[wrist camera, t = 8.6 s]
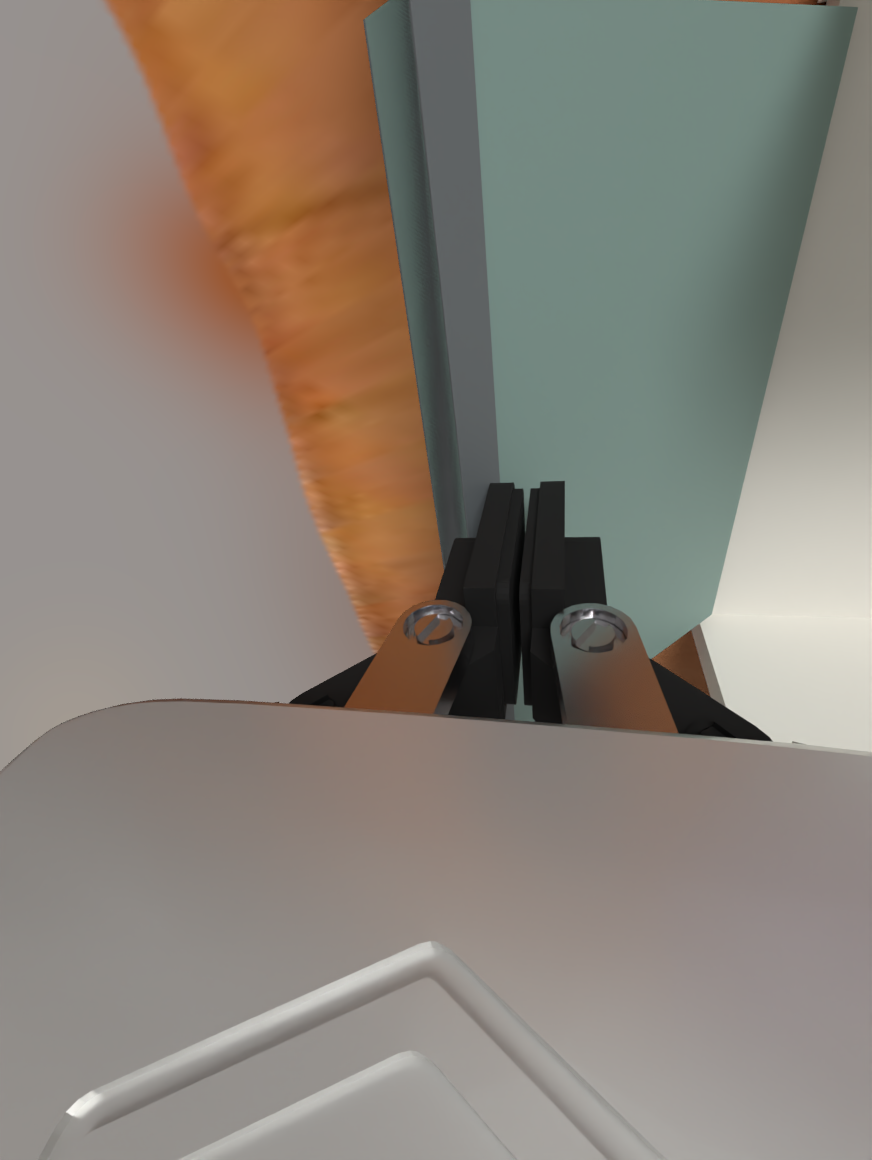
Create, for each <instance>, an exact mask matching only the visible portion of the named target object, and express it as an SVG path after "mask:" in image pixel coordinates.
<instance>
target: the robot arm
mask: <svg viewBox="0 0 872 1160" xmlns="http://www.w3.org/2000/svg"><path fill="white" fill-rule="evenodd" d="M521 652H522V669H523V691H524V705H528V706H532V716H533V719H534V720H535V722H531V721H518V720H505V717H506V709H507V704H513V705H516V703H517V694H518V684H519V673H520V663H521ZM0 1160H872V752H867V751H858V750H849V749H841V748H832V747H823V746H814V745H806V744H802V743H798V742H794V741H792V743H784V742H773V741H772V740H771V738H770V737H769V736H768V735H766V734H765V733H764V732H763V731H761V730H760V729H759V728H758V727H756V726H755V725H753V724H752V723H750V722H749V721H747V720H745V719H744V718H742V717H741V716H739V715H738V714H736V713H735V712H733V711H731V710H730V709H728V708H727V707H725V706H724V705H722V704H720V703H719V702H717V701H716V700H714V699H713V698H711V697H710V696H708V695H706V694H705V693H703V692H702V691H700V690H699V689H697V688H695V687H694V686H692V685H691V684H689V683H688V682H686V681H684V680H683V679H681V678H680V677H678V676H677V675H675V674H674V673H672V672H670V671H669V670H667V669H666V668H664V667H663V666H661V665H659V664H658V663H656V662H655V661H653V660H652V659H650V658H649V657H648V655H647V652H646V650H645V647H644V645H643V642H642V640H641V637H640V635H639V632H638V630H637V627H636V625H635V624H634V622H633V621H632V619H631V618H630V617H628V616H627V615H626V614H625V613H623V612H622V611H620V610H618V609H616V608H613V607H611V606H607V599H606V588H605V578H604V568H603V558H602V548H601V539H600V537H565V481H542V482H540V488H531V489H530V498H529V507H528V515H527V524H526V533H525V511H524V490H523V488H522V489H515V485H514V482H511V483H490V485H489V488H488V492H487V496H486V500H485V504H484V508H483V512H482V516H481V520H480V523H479V527H478V531H477V535H476V538H455V540H454V542H453V545H452V548H451V551H450V554H449V558H448V561H447V564H446V567H445V570H444V573H443V577H442V580H441V583H440V586H439V589H438V592H437V596H436V599H435V600H431V601H425V602H422V603H419V604H417V605H414V606H412V607H411V608H409V609H408V610H406V611H405V612H404V613H403V614H402V615H401V616H400V617H399V618H398V620H397V621H396V623H395V625H394V626H393V628H392V630H391V631H390V633H389V634H388V636H387V638H386V639H385V641H384V643H383V644H382V646H381V648H380V649H379V651H378V652H377V653H376V654H375V655H373V656H371V657H369V658H367V659H365V660H363V661H361V662H360V663H358V664H356V665H354V666H352V667H350V668H348V669H347V670H345V671H343V672H341V673H339V674H337V675H335V676H334V677H332V678H330V679H328V680H326V681H324V682H323V683H321V684H319V685H317V686H315V687H313V688H311V689H310V690H308V691H306V692H304V693H302V694H301V695H299V696H298V697H296V698H295V699H293V700H292V701H291V702H290V703H289V704H286V703H279V702H275V703H271V702H255V701H241V700H212V699H182V698H180V699H157V700H147V701H140V702H133V703H126V704H121V705H117V706H113V707H109V708H105V709H101V710H97V711H93V712H90V713H87V714H84V715H81V716H78V717H76V718H73V719H71V720H68V721H66V722H63V723H61V724H59V725H57V726H56V727H54V728H52V729H50V730H49V731H47V732H46V733H45V734H43V735H42V736H41V737H39V738H38V739H37V740H35V741H34V742H33V743H32V744H30V745H29V746H28V747H27V748H26V749H25V750H23V751H22V752H21V753H20V754H19V755H18V756H17V757H15V758H14V759H13V760H12V761H11V762H10V763H9V764H8V765H7V766H5V767H4V768H3V769H2V770H1V771H0Z"/></svg>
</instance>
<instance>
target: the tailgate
mask: <svg viewBox="0 0 872 1160" xmlns="http://www.w3.org/2000/svg"><path fill="white" fill-rule="evenodd" d="M857 10H858V7H846V6H824V5H801V4H779V3H757V2H735V1H713V0H389V1H387V2H386V3H385V4H384V5H382V6H381V7H380V8H378V9H377V10H376V11H374V12H373V13H372V14H370V15H369V16H368V17H366V18H365V19H364V20H363V21H364V28H365V35H366V42H367V48H368V55H369V62H370V69H371V76H372V82H373V89H374V96H375V103H376V110H377V116H378V123H379V130H380V137H381V144H382V150H383V157H384V164H385V171H386V178H387V184H388V191H389V198H390V205H391V212H392V218H393V225H394V232H395V239H396V246H397V252H398V259H399V266H400V273H401V280H402V286H403V293H404V300H405V307H406V314H407V320H408V327H409V334H410V341H411V348H412V354H413V361H414V368H415V375H416V382H417V388H418V395H419V402H420V409H421V416H422V422H423V429H424V436H425V443H426V450H427V456H428V463H429V470H430V477H431V484H432V490H433V497H434V504H435V511H436V518H437V524H438V531H439V538H440V545H441V552H442V558H443V565H444V570H445V567H446V564H447V561H448V558H449V554H450V551H451V548H452V545H453V542H454V540H455V538H476V535H477V531H478V527H479V523H480V520H481V516H482V512H483V508H484V504H485V500H486V496H487V492H488V488H489V485H490V483H511V482H514V485H515V489H522V488H523V490H524V511H525V533H526V524H527V515H528V507H529V498H530V489H531V488H540V482H542V481H565V537H600V539H601V548H602V558H603V568H604V578H605V588H606V599H607V606H611V607H613V608H616V609H618V610H620V611H622V612H623V613H625V614H626V615H627V616H628V617H630V618H631V619H632V621H633V622H634V624H635V625H636V627H637V630H638V632H639V635H640V637H641V640H642V642H643V645H644V647H645V650H646V652H647V655H648V657H649V658H650V659H652V658H653V657H655V656H656V655H657V654H659V653H660V652H661V651H663V650H664V649H665V648H667V647H668V646H670V645H671V644H672V643H674V642H675V641H676V640H678V639H679V638H680V637H682V636H683V635H685V634H686V633H687V632H689V631H690V630H691V629H693V628H694V627H696V626H697V625H698V624H700V623H701V622H702V621H704V620H705V619H706V618H708V617H709V616H711V615H712V611H713V607H714V603H715V599H716V595H717V591H718V587H719V582H720V578H721V574H722V570H723V566H724V562H725V558H726V553H727V549H728V545H729V541H730V537H731V533H732V529H733V524H734V520H735V516H736V512H737V508H738V504H739V499H740V495H741V491H742V487H743V483H744V479H745V475H746V470H747V466H748V462H749V458H750V454H751V450H752V446H753V441H754V437H755V433H756V429H757V425H758V421H759V417H760V412H761V408H762V404H763V400H764V396H765V392H766V387H767V383H768V379H769V375H770V371H771V367H772V363H773V358H774V354H775V350H776V346H777V342H778V338H779V334H780V329H781V325H782V321H783V317H784V313H785V309H786V305H787V300H788V296H789V292H790V288H791V284H792V280H793V275H794V271H795V267H796V263H797V259H798V255H799V251H800V246H801V242H802V238H803V234H804V230H805V226H806V222H807V217H808V213H809V209H810V205H811V201H812V197H813V193H814V188H815V184H816V180H817V176H818V172H819V168H820V163H821V159H822V155H823V151H824V147H825V143H826V139H827V134H828V130H829V126H830V122H831V118H832V114H833V110H834V105H835V101H836V97H837V93H838V89H839V85H840V81H841V76H842V72H843V68H844V64H845V60H846V56H847V51H848V47H849V43H850V39H851V35H852V31H853V27H854V22H855V18H856V14H857ZM505 720H518V721H531V722H535V720H534V719H533V716H532V706H528V705H524V691H523V669H522V652H521V663H520V673H519V684H518V694H517V703H516V705H513V704H507V709H506V717H505Z"/></svg>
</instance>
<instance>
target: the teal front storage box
mask: <svg viewBox="0 0 872 1160" xmlns="http://www.w3.org/2000/svg"><path fill="white" fill-rule="evenodd" d="M826 1H827V2H826ZM822 2H826V6H846V7H858V10H857V14H856V18H855V22H854V27H853V31H852V35H851V39H850V43H849V47H848V51H847V56H846V60H845V64H844V68H843V72H842V76H841V81H840V85H839V89H838V93H837V97H836V101H835V105H834V110H833V114H832V118H831V122H830V126H829V130H828V134H827V139H826V143H825V147H824V151H823V155H822V159H821V163H820V168H819V172H818V176H817V180H816V184H815V188H814V193H813V197H812V201H811V205H810V209H809V213H808V217H807V222H806V226H805V230H804V234H803V238H802V242H801V246H800V251H799V255H798V259H797V263H796V267H795V271H794V275H793V280H792V284H791V288H790V292H789V296H788V300H787V305H786V309H785V313H784V317H783V321H782V325H781V329H780V334H779V338H778V342H777V346H776V350H775V354H774V358H773V363H772V367H771V371H770V375H769V379H768V383H767V387H766V392H765V396H764V400H763V404H762V408H761V412H760V417H759V421H758V425H757V429H756V433H755V437H754V441H753V446H752V450H751V454H750V458H749V462H748V466H747V470H746V475H745V479H744V483H743V487H742V491H741V495H740V499H739V504H738V508H737V512H736V516H735V520H734V524H733V529H732V533H731V537H730V541H729V545H728V549H727V553H726V558H725V562H724V566H723V570H722V574H721V578H720V582H719V587H718V591H717V595H716V599H715V603H714V607H713V611H712V615H711V616H709V617H708V618H706V619H705V620H704V621H702V622H701V623H700V624H698V625H697V626H696V627H694V628H693V629H691V631H692V635H693V638H694V641H695V645H696V648H697V652H698V655H699V659H700V662H701V666H702V669H703V673H704V676H705V680H706V683H707V686H708V690H709V693H710V697H711V698H713V699H714V700H716V701H717V702H719V703H720V704H722V705H724V706H725V707H727V708H728V709H730V710H731V711H733V712H735V713H736V714H738V715H739V716H741V717H742V718H744V719H745V720H747V721H749V722H750V723H752V724H753V725H755V726H756V727H758V728H759V729H760V730H761V731H763V732H764V733H765V734H766V735H768V736H769V737H770V738H771V740H772V741H773V742H784V743H792V741H794V742H798V743H802V744H806V745H814V746H823V747H832V748H841V749H849V750H858V751H867V752H872V0H818V2H817V3H822Z"/></svg>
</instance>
